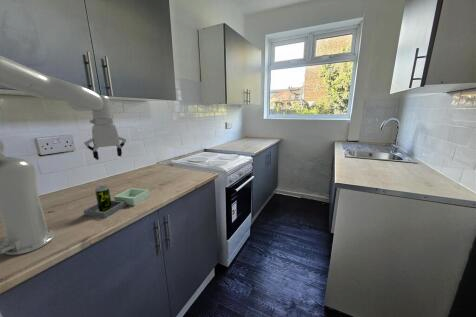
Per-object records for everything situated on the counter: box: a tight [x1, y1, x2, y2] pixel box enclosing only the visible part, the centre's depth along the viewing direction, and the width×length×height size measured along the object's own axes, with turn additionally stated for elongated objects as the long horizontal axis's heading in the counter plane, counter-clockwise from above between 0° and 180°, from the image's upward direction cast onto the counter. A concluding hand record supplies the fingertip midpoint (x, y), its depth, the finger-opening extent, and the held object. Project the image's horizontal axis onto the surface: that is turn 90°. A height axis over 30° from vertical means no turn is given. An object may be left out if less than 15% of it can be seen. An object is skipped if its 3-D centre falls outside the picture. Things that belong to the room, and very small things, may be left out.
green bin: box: [113, 187, 151, 207], centre depth 105 cm, size 12×12×4 cm
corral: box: [83, 199, 126, 219], centre depth 94 cm, size 12×12×2 cm
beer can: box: [94, 184, 113, 212], centre depth 92 cm, size 5×5×12 cm
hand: (108, 157), depth 96 cm, fingers open, 9 cm apart
